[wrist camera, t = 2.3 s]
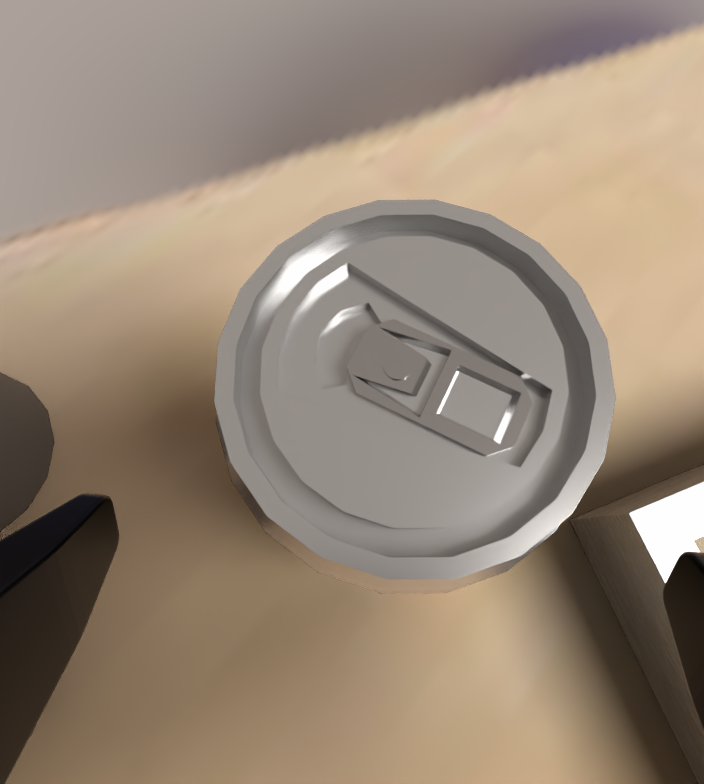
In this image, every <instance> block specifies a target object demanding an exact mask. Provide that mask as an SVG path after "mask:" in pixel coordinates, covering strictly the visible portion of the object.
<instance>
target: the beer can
mask: <svg viewBox="0 0 704 784" xmlns="http://www.w3.org/2000/svg"><path fill="white" fill-rule="evenodd" d="M615 401H616V396H615V389H614V382H613V376H612V369H611V362H610V356H609V349H608V342H607V338H606V336H605V334H604V332H603V330H602V328H601V326H600V324H599V322H598V320H597V318H596V316H595V314H594V312H593V310H592V308H591V306H590V304H589V302H588V300H587V298H586V296H585V294H584V292H583V290H582V288H581V286H580V285H579V284H578V283H577V282H576V281H575V280H574V279H573V278H572V277H571V276H570V275H569V274H568V272H567V271H566V270H565V269H564V268H563V267H562V266H561V265H560V264H559V263H558V262H557V261H556V260H555V259H554V258H553V257H552V256H551V255H550V253H549V252H548V251H547V250H546V249H545V248H544V247H543V246H542V245H541V244H540V243H538V242H536V241H535V240H533V239H531V238H530V237H528V236H526V235H524V234H523V233H521V232H519V231H518V230H516V229H514V228H513V227H511V226H509V225H507V224H506V223H504V222H502V221H501V220H499V219H497V218H496V217H494V216H492V215H490V214H487V213H483V212H479V211H475V210H472V209H468V208H464V207H460V206H457V205H453V204H449V203H445V202H442V201H438V200H378V201H374V202H371V203H367V204H364V205H360V206H357V207H354V208H350V209H347V210H343V211H340V212H336V213H333V214H329V215H326V216H323V217H322V218H320V219H319V220H317V221H316V222H314V223H312V224H311V225H309V226H308V227H306V228H305V229H303V230H301V231H300V232H298V233H297V234H295V235H294V236H292V237H290V238H289V239H287V240H286V241H284V242H283V243H281V244H280V245H278V246H277V247H276V248H275V249H274V250H273V251H272V252H271V254H270V255H269V256H268V257H267V258H266V259H265V261H264V262H263V263H262V264H261V265H260V267H259V268H258V269H257V270H256V271H255V272H254V274H253V275H252V276H251V277H250V278H249V279H248V281H247V282H246V283H245V284H244V285H243V287H242V288H241V289H240V291H239V293H238V296H237V298H236V301H235V303H234V305H233V308H232V310H231V313H230V315H229V317H228V320H227V322H226V325H225V327H224V330H223V332H222V334H221V337H220V339H219V342H218V352H217V366H216V381H215V396H214V403H215V407H216V411H217V418H216V424H217V428H218V432H219V436H220V439H221V443H222V447H223V451H224V455H225V458H226V462H227V466H228V470H229V473H230V477H231V481H232V482H233V484H234V485H235V487H236V488H237V490H238V491H239V493H240V494H241V496H242V497H243V499H244V500H245V502H246V503H247V505H248V506H249V508H250V509H251V511H252V512H253V514H254V515H255V517H256V518H257V520H258V521H259V523H260V524H261V526H262V527H263V529H264V530H265V532H266V533H267V534H268V535H270V536H271V537H272V538H274V539H275V540H276V541H277V542H279V543H280V544H281V545H283V546H284V547H285V548H287V549H288V550H289V551H290V552H292V553H293V554H294V555H296V556H297V557H298V558H300V559H301V560H302V561H304V562H305V563H306V564H307V565H309V566H310V567H311V568H313V569H314V570H315V571H317V572H318V573H321V574H324V575H327V576H330V577H333V578H336V579H339V580H342V581H345V582H348V583H351V584H354V585H357V586H360V587H363V588H366V589H369V590H372V591H374V592H377V593H448V592H450V591H453V590H456V589H459V588H462V587H464V586H467V585H470V584H473V583H475V582H478V581H481V580H484V579H487V578H489V577H492V576H495V575H498V574H501V573H503V572H506V571H508V570H509V569H510V568H512V567H513V566H514V565H515V564H517V563H518V562H519V561H520V560H521V559H523V558H524V557H525V556H526V555H527V554H529V553H530V552H531V551H532V550H534V549H535V548H536V547H537V546H538V545H540V544H541V543H542V542H543V541H544V540H546V539H547V538H548V537H549V536H551V535H552V534H553V533H554V532H555V531H556V530H557V529H558V527H559V525H560V524H561V523H562V522H563V521H564V520H566V519H567V518H568V517H569V516H570V515H572V514H573V512H574V510H575V508H576V507H577V505H578V503H579V502H580V500H581V498H582V497H583V495H584V493H585V492H586V490H587V488H588V486H589V485H590V483H591V481H592V480H593V478H594V476H595V475H596V473H597V471H598V470H599V468H600V466H601V464H602V463H603V461H604V459H605V454H606V449H607V443H608V438H609V433H610V428H611V422H612V417H613V412H614V406H615Z"/></svg>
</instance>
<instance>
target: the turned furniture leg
mask: <svg viewBox="0 0 704 784" xmlns="http://www.w3.org/2000/svg"><path fill="white" fill-rule="evenodd" d="M53 445H54V439H53V434H52V429H51V425H50V420H49V415H48V410H47V409H46V408H45V407H44V405H43V404H42V403H41V401H40V400H39V399H38V398H37V396H36V395H35V394H34V392H33V391H32V390H31V389H30V387H29V386H27V385H25V384H23V383H21V382H19V381H17V380H14V379H12V378H10V377H8V376H6V375H4V374H2V373H0V531H1V530H2V529H4V528H5V527H6V526H7V525H9V524H10V523H11V522H12V521H13V520H15V519H16V518H17V517H18V516H20V515H21V514H22V513H23V512H24V511H26V510H27V509H28V507H29V505H30V504H31V502H32V500H33V499H34V497H35V496H36V494H37V492H38V491H39V489H40V488H41V486H42V484H43V483H44V481H45V480H46V478H47V475H48V470H49V465H50V460H51V455H52V450H53Z"/></svg>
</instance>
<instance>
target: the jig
mask: <svg viewBox="0 0 704 784" xmlns="http://www.w3.org/2000/svg"><path fill="white" fill-rule="evenodd" d="M570 522H571V524H572V526H573V528H574V530H575V532H576V535H577V537H578V539H579V541H580V543H581V545H582V547H583V549H584V551H585V553H586V555H587V557H588V559H589V561H590V563H591V565H592V567H593V569H594V571H595V573H596V575H597V578H598V580H599V582H600V584H601V586H602V588H603V590H604V592H605V594H606V596H607V598H608V600H609V602H610V604H611V606H612V608H613V610H614V612H615V614H616V616H617V619H618V621H619V623H620V625H621V627H622V629H623V631H624V633H625V635H626V637H627V639H628V641H629V643H630V645H631V647H632V649H633V651H634V653H635V655H636V657H637V659H638V662H639V664H640V666H641V668H642V670H643V672H644V674H645V676H646V678H647V680H648V682H649V684H650V686H651V688H652V690H653V692H654V694H655V696H656V698H657V700H658V702H659V705H660V707H661V709H662V711H663V713H664V715H665V717H666V719H667V721H668V723H669V725H670V727H671V729H672V731H673V733H674V735H675V737H676V739H677V741H678V743H679V745H680V748H681V750H682V752H683V754H684V756H685V758H686V760H687V762H688V764H689V766H690V768H691V770H692V772H693V774H694V776H695V778H696V780H697V782H698V784H704V730H703V728H702V725H701V723H700V720H699V717H698V715H697V712H696V709H695V707H694V704H693V701H692V698H691V695H690V692H689V689H688V686H687V682H686V679H685V676H684V672H683V669H682V665H681V662H680V658H679V655H678V651H677V648H676V644H675V641H674V638H673V634H672V631H671V627H670V624H669V620H668V617H667V613H666V610H665V606H664V602H663V589H664V585H665V583H666V581H667V579H668V577H669V575H670V573H671V572H672V570H673V568H674V566H675V564H676V562H677V560H678V558H679V556H680V555H681V554H683V553H684V552H688V551H690V552H700V551H699V550H698V548H697V546H696V544H695V542H694V540H696V539H698V538H700V537H703V536H704V464H703V465H701V466H698V467H696V468H694V469H691V470H689V471H686V472H684V473H681V474H679V475H677V476H674V477H672V478H669V479H667V480H665V481H662V482H660V483H657V484H655V485H653V486H650V487H648V488H645V489H643V490H641V491H638V492H636V493H633V494H631V495H629V496H626V497H624V498H621V499H619V500H616V501H614V502H612V503H609V504H607V505H604V506H602V507H600V508H597V509H595V510H592V511H590V512H588V513H585V514H583V515H580V516H578V517H576V518H573V519H571V520H570Z"/></svg>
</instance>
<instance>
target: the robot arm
mask: <svg viewBox="0 0 704 784" xmlns="http://www.w3.org/2000/svg"><path fill="white" fill-rule="evenodd" d="M118 542H119V530H118V526H117V521H116V516H115V511H114V507H113V502H112V500H111V498H110V497H109V496H106V495H100V494H89V493H86V494H81V495H79V496H77V497H75V498H74V499H72V500H70V501H68V502H67V503H65V504H63V505H61V506H60V507H58V508H56V509H54V510H53V511H51V512H49V513H47V514H46V515H44V516H42V517H41V518H39V519H37V520H35V521H34V522H32V523H30V524H28V525H27V526H25V527H23V528H21V529H20V530H18V531H16V532H14V533H13V534H11V535H9V536H8V537H6V538H4V539H2V540H1V541H0V784H5V782H6V781H7V779H8V777H9V775H10V773H11V771H12V769H13V767H14V765H15V763H16V761H17V760H18V758H19V756H20V754H21V752H22V750H23V748H24V746H25V744H26V742H27V740H28V739H29V737H30V735H31V733H32V731H33V729H34V727H35V725H36V723H37V721H38V719H39V718H40V716H41V714H42V712H43V710H44V708H45V706H46V704H47V702H48V700H49V698H50V696H51V695H52V693H53V691H54V689H55V687H56V685H57V683H58V681H59V679H60V677H61V675H62V674H63V672H64V670H65V668H66V666H67V664H68V662H69V660H70V658H71V656H72V654H73V653H74V650H75V648H76V646H77V644H78V642H79V640H80V638H81V636H82V634H83V632H84V629H85V627H86V625H87V622H88V620H89V617H90V615H91V612H92V610H93V607H94V605H95V602H96V600H97V597H98V595H99V592H100V589H101V587H102V584H103V582H104V579H105V577H106V574H107V572H108V569H109V567H110V564H111V562H112V559H113V557H114V554H115V552H116V549H117V546H118ZM663 602H664V606H665V610H666V613H667V617H668V620H669V624H670V627H671V631H672V634H673V638H674V641H675V644H676V648H677V651H678V655H679V658H680V662H681V665H682V669H683V672H684V676H685V679H686V682H687V686H688V689H689V692H690V695H691V698H692V701H693V704H694V707H695V709H696V712H697V715H698V717H699V720H700V723H701V725H702V728H703V730H704V553H700V552H690V551H688V552H684V553H683V554H681V555H680V556H679V558H678V560H677V562H676V564H675V566H674V568H673V570H672V572H671V573H670V575H669V577H668V579H667V581H666V583H665V585H664V589H663Z"/></svg>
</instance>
